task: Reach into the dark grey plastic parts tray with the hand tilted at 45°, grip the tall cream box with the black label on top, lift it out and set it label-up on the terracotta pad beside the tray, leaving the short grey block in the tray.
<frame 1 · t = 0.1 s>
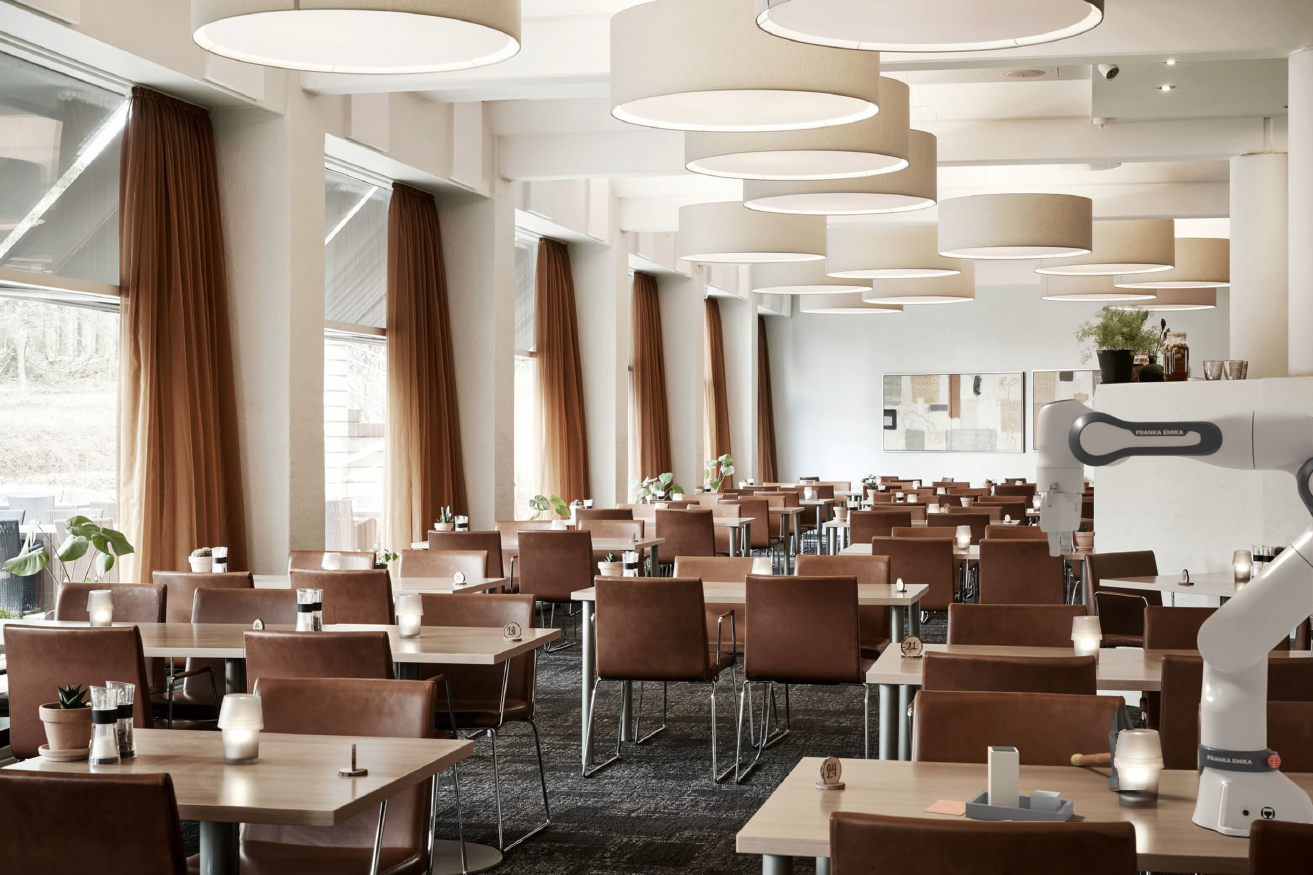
hand: (1060, 555, 270), 48 cm above the table, tool pointing down, fingers open, 8 cm apart
grey block: (1045, 818, 256), resting on parts tray
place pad: (950, 810, 264), on the table
parts tray: (1019, 818, 258), on the table
labelled box: (1003, 813, 259), resting on parts tray
hammer: (1103, 781, 293), on the table
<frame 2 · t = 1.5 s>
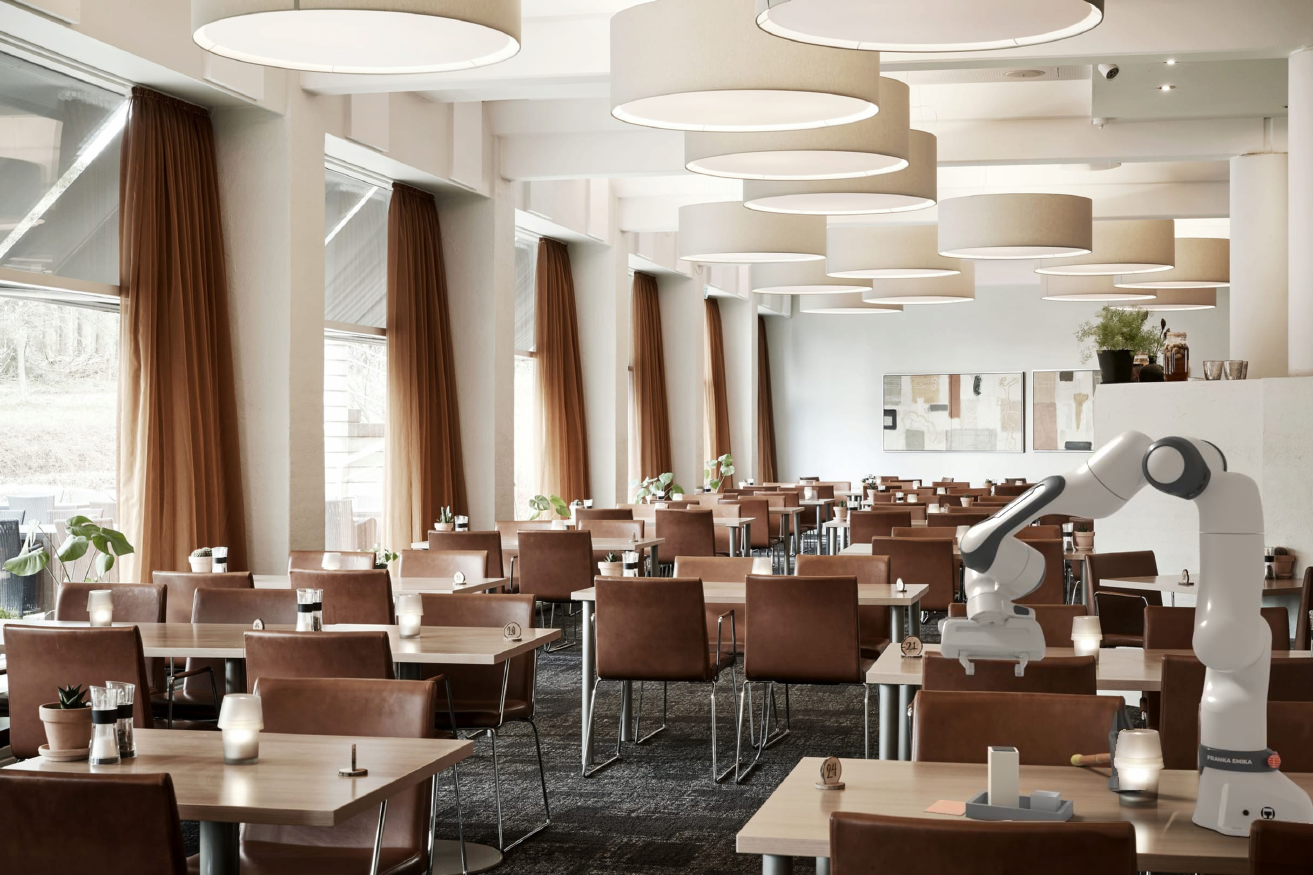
hand: (995, 673, 272), 25 cm above the table, tool tilted 45°, fingers open, 8 cm apart
nothing on the table moved.
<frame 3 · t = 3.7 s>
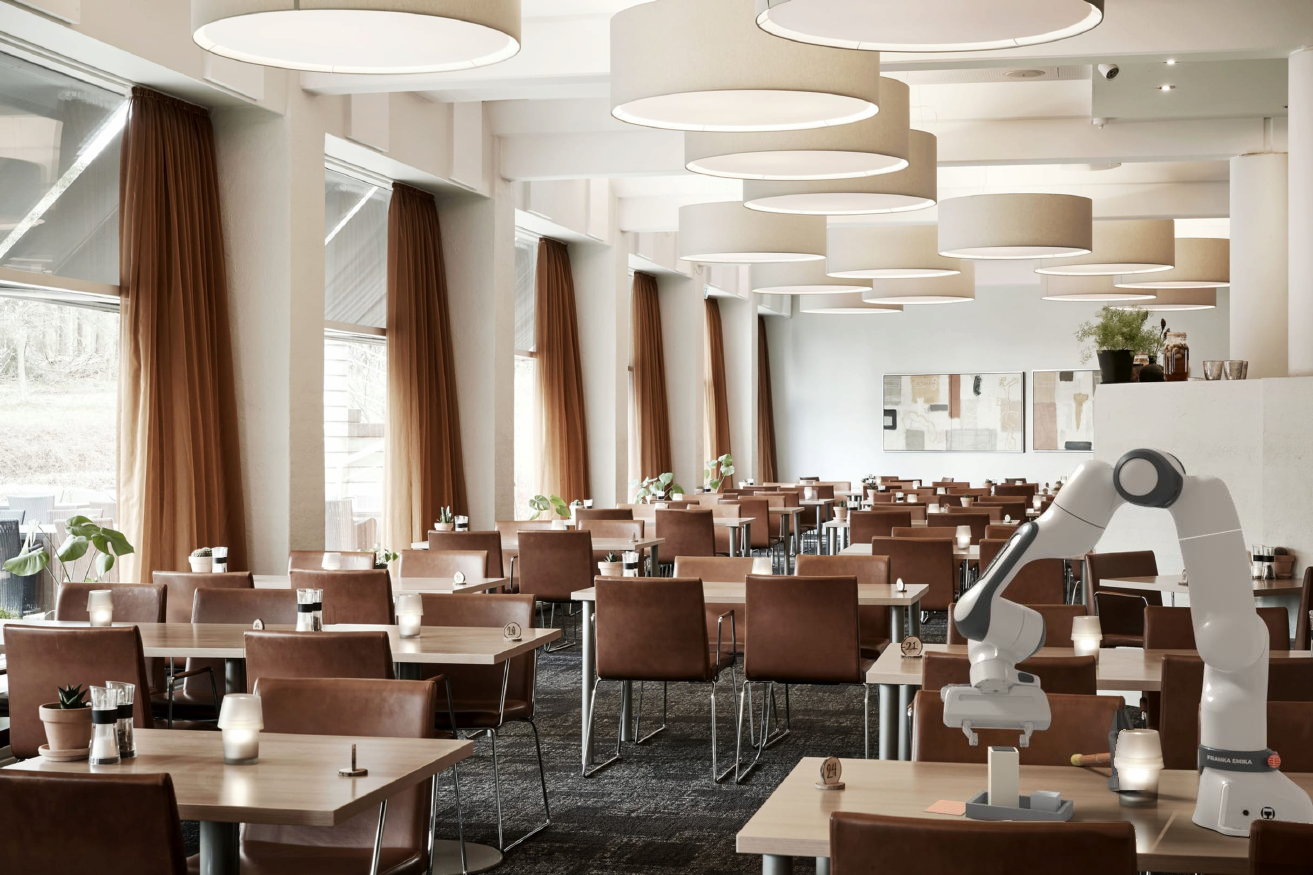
hand: (999, 744, 266), 12 cm above the table, tool tilted 45°, fingers open, 8 cm apart
nothing on the table moved.
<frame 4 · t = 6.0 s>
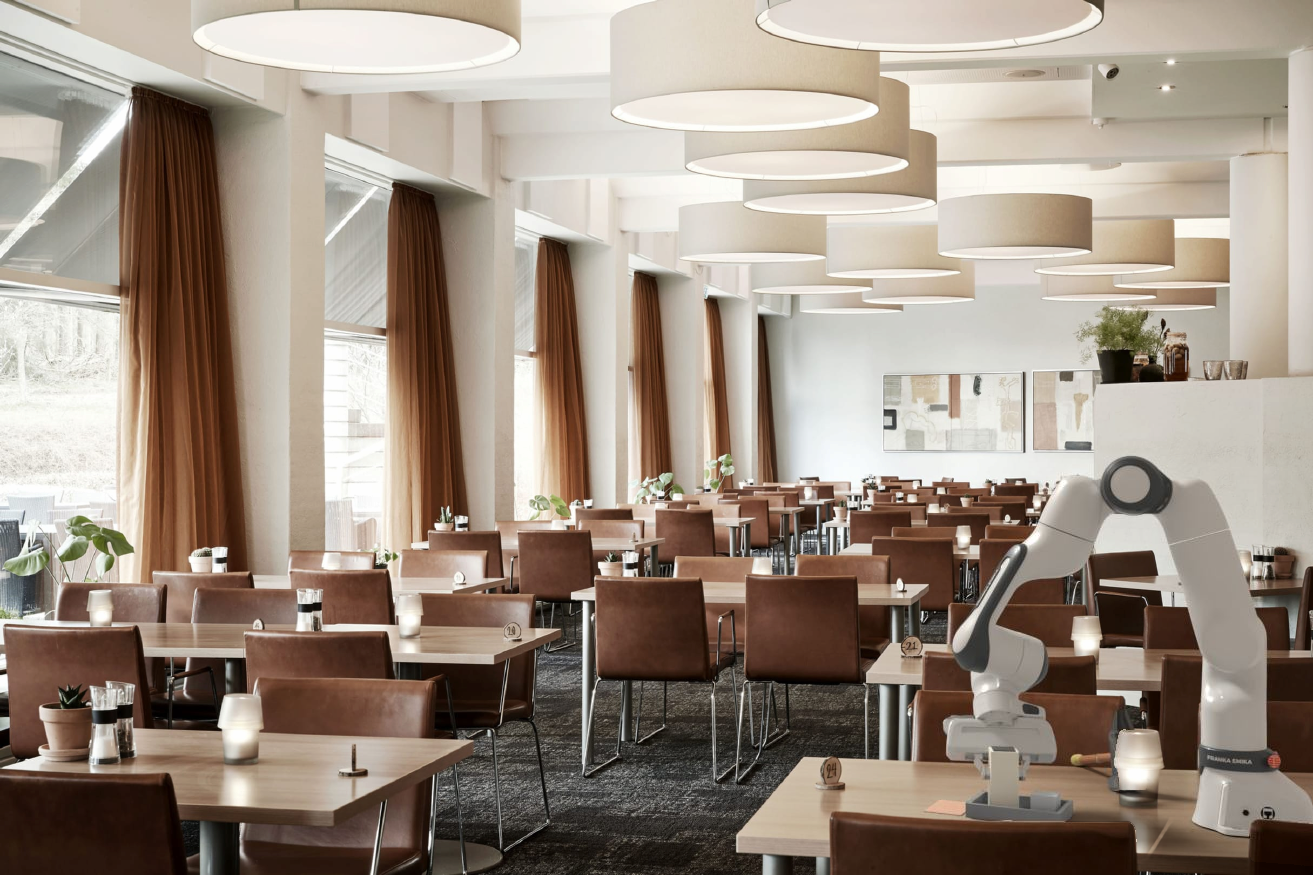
hand: (1003, 778, 259), 7 cm above the table, tool tilted 45°, fingers closed on labelled box, 5 cm apart
labelled box: (1003, 813, 259), resting on parts tray, touching gripper
everything else where it was.
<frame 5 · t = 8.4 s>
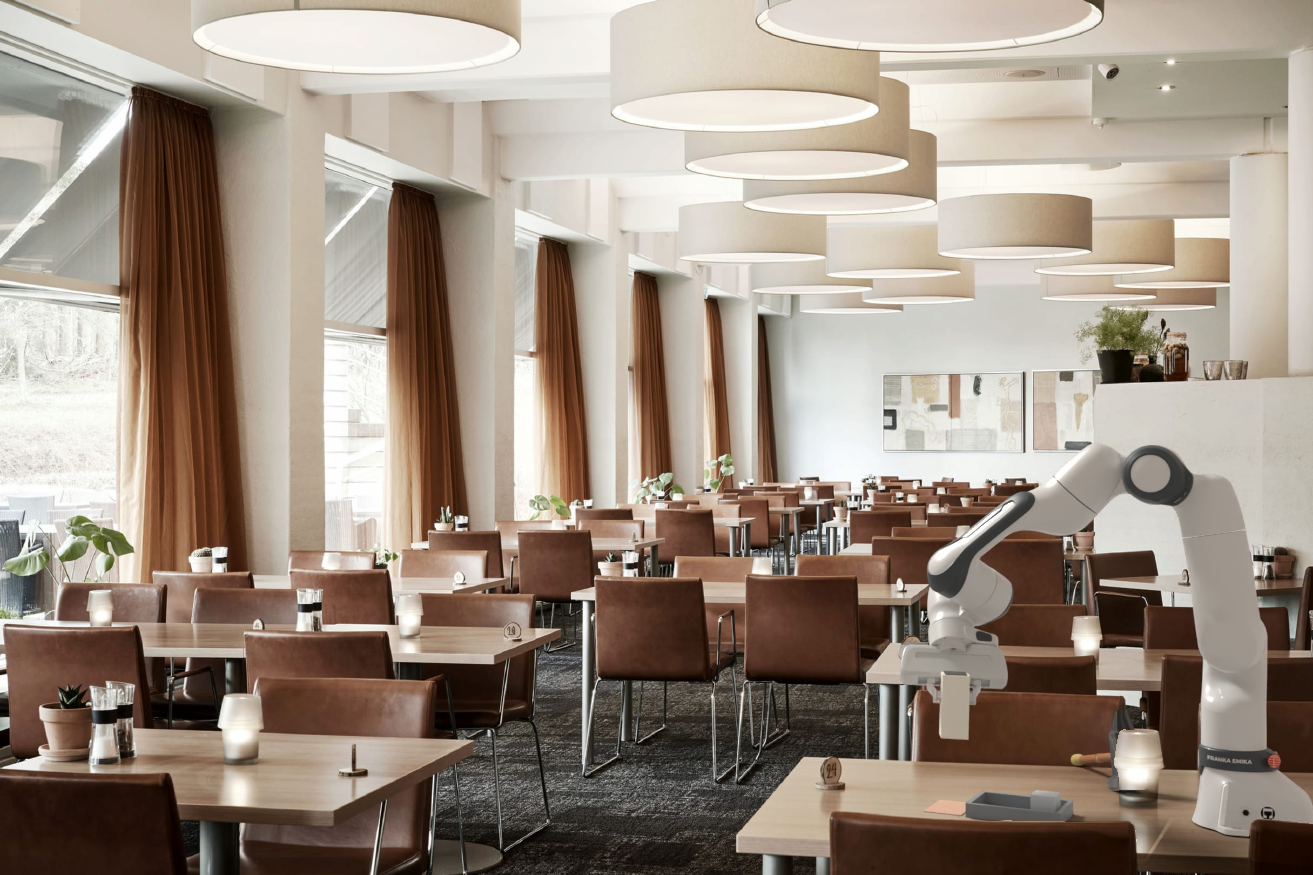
hand: (954, 702, 263), 20 cm above the table, tool tilted 45°, fingers closed on labelled box, 5 cm apart
labelled box: (953, 736, 264), point 14 cm above the table, touching gripper
everything else where it was.
when the fingers open (8 cm above the table, at t = 11.0 s): labelled box drops 1 cm, resting on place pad.
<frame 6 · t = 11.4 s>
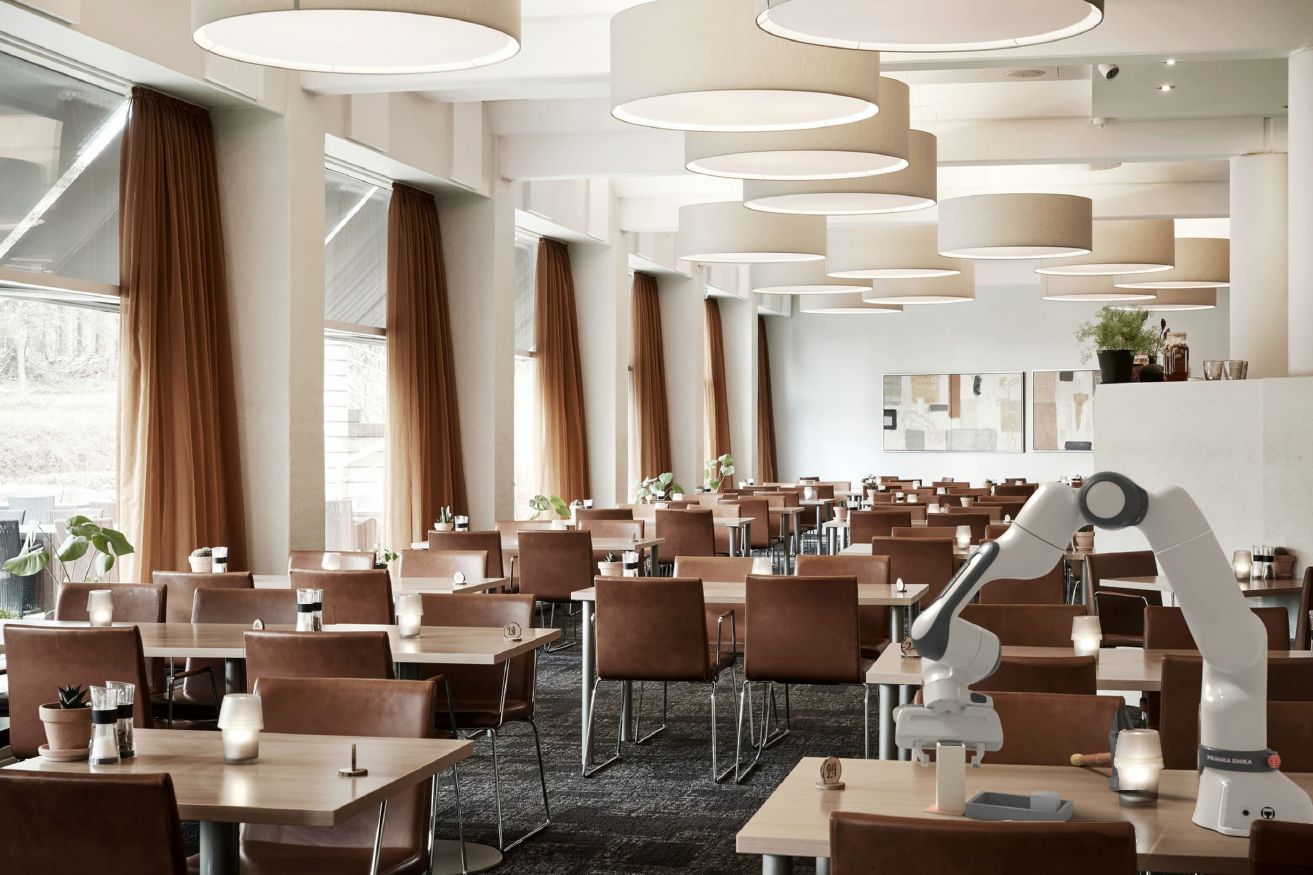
hand: (950, 765, 263), 8 cm above the table, tool tilted 45°, fingers open, 8 cm apart
labelled box: (950, 807, 264), point 1 cm above the table, touching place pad
everything else where it was.
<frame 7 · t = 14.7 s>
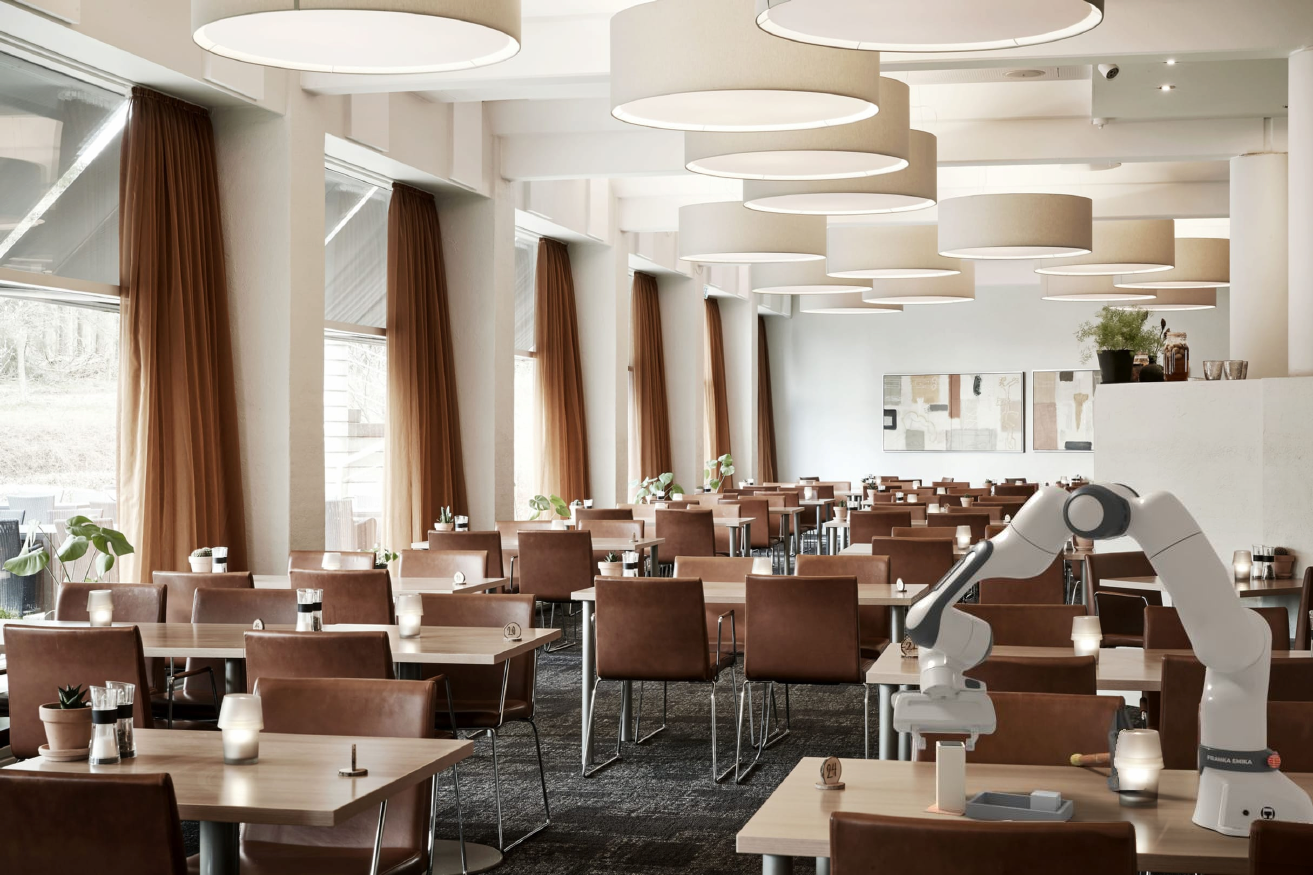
hand: (946, 748, 276), 9 cm above the table, tool tilted 45°, fingers open, 8 cm apart
nothing on the table moved.
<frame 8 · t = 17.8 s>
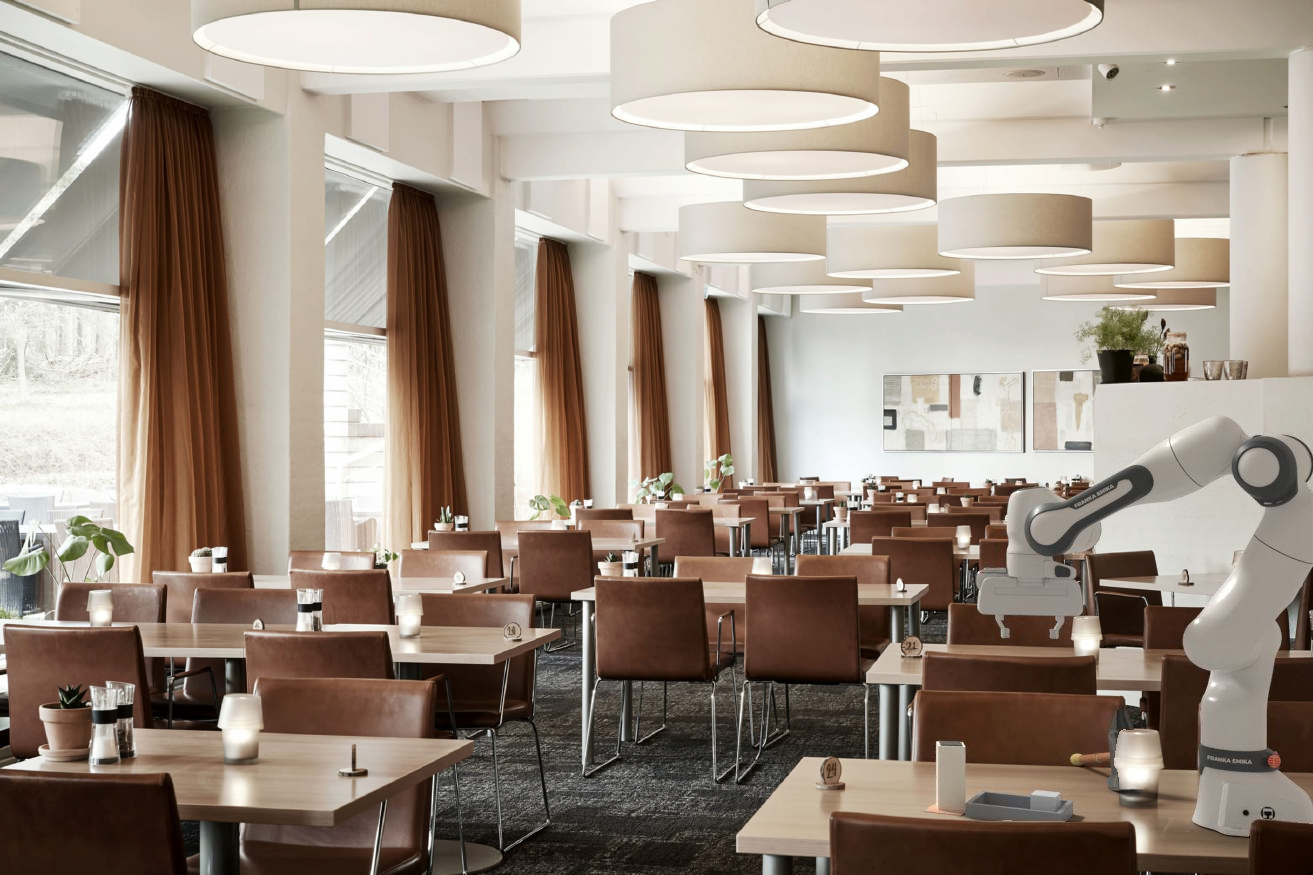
hand: (1029, 638, 278), 31 cm above the table, tool pointing down, fingers open, 8 cm apart
nothing on the table moved.
at the end: labelled box inside the target area on the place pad (0.1 cm from its centre), point 0.6 cm above the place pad's base; labelled box tilted 0°; grey block moved 0.0 cm from its start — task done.
